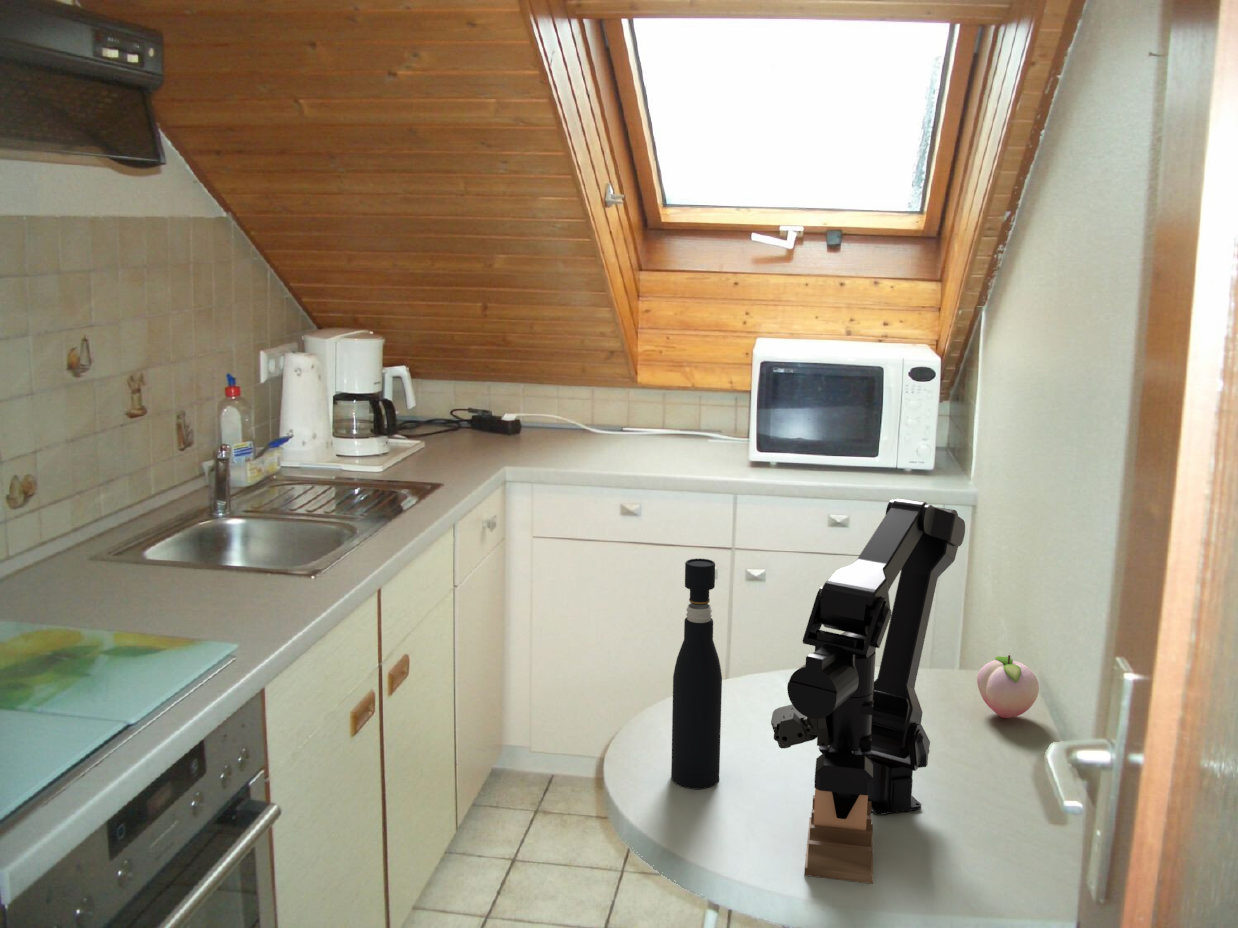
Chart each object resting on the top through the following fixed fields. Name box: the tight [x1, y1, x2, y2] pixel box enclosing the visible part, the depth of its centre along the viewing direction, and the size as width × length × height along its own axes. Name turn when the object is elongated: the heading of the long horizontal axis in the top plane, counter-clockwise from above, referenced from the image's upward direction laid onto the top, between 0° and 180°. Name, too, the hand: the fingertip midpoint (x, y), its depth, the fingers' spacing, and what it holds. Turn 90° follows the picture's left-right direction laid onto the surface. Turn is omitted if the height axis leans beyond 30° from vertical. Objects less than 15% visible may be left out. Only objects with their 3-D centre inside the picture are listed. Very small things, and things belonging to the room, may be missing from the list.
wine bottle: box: [670, 558, 723, 790], centre depth 149 cm, size 6×6×30 cm
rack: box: [803, 794, 874, 884], centre depth 134 cm, size 12×8×4 cm, turn 168°
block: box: [814, 788, 868, 831], centre depth 133 cm, size 2×6×8 cm, turn 78°
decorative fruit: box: [976, 654, 1040, 719], centre depth 171 cm, size 9×8×10 cm
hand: (841, 812), depth 133 cm, fingers closed on block, 2 cm apart
